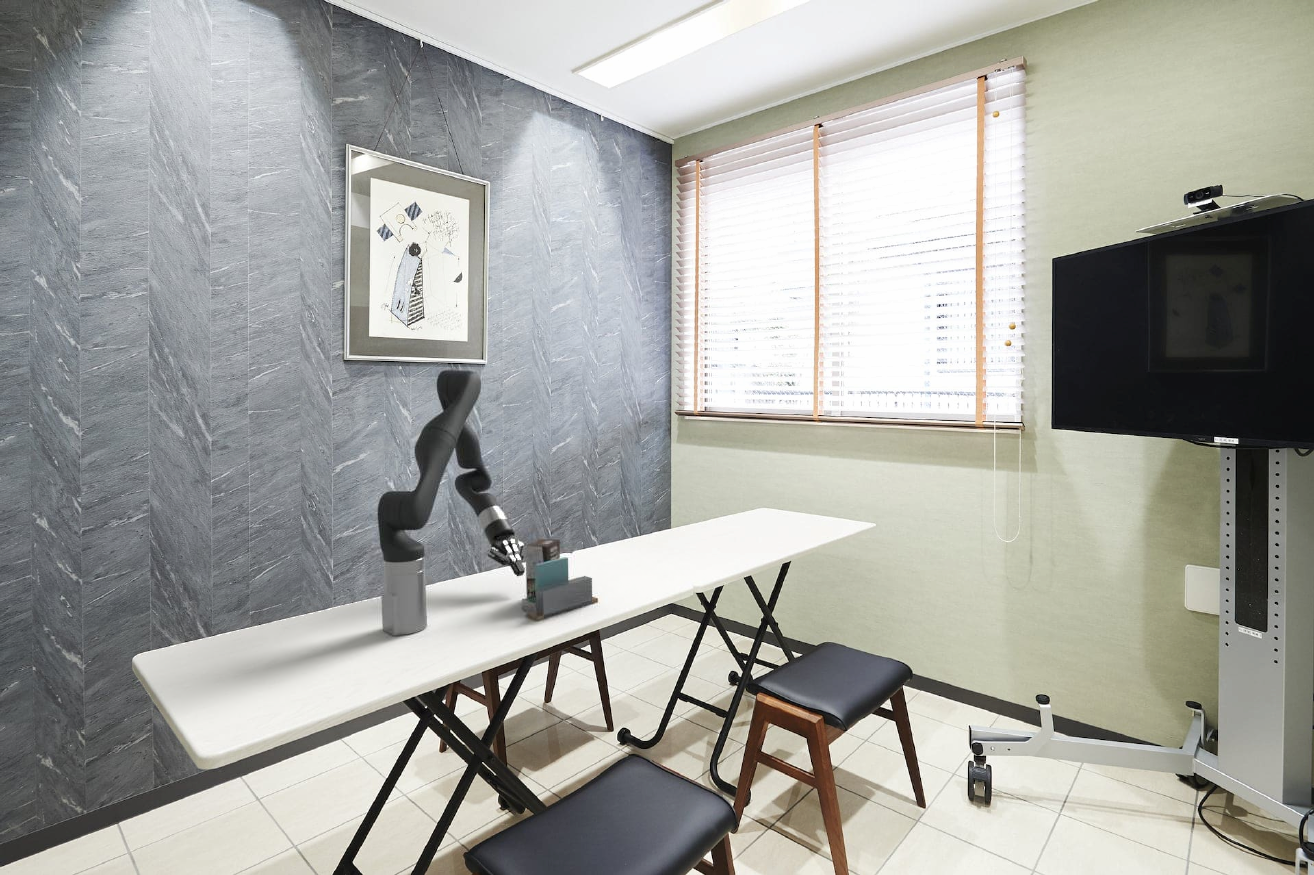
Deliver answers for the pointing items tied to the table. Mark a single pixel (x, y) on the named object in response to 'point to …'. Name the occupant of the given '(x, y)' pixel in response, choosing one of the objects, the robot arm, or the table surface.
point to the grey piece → (559, 598)
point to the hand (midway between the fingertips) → (521, 574)
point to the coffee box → (539, 559)
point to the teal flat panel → (550, 573)
